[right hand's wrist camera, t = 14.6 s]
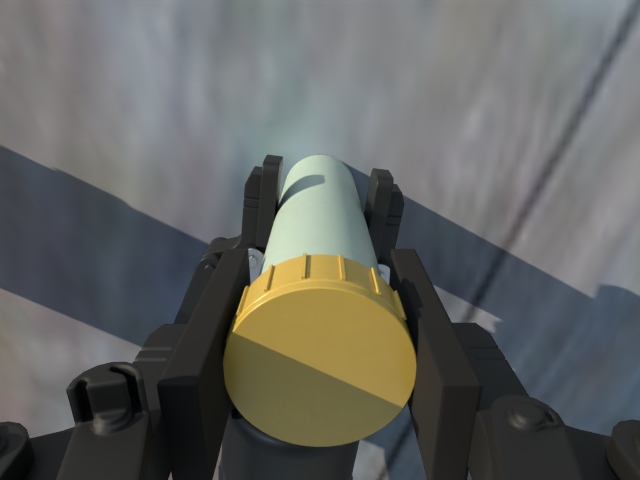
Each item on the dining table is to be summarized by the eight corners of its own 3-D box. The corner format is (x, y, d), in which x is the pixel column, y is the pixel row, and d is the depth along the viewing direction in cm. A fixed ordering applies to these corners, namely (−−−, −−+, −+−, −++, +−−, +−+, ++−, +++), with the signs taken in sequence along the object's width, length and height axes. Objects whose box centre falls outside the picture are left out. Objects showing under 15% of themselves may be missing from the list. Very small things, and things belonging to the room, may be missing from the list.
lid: (199, 326, 12) (179, 370, 11) (324, 215, 11) (325, 244, 9) (316, 423, 14) (315, 476, 12) (440, 333, 12) (459, 377, 11)
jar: (270, 188, 26) (203, 359, 11) (321, 139, 25) (324, 256, 10) (318, 236, 27) (316, 450, 12) (369, 191, 26) (436, 365, 11)
